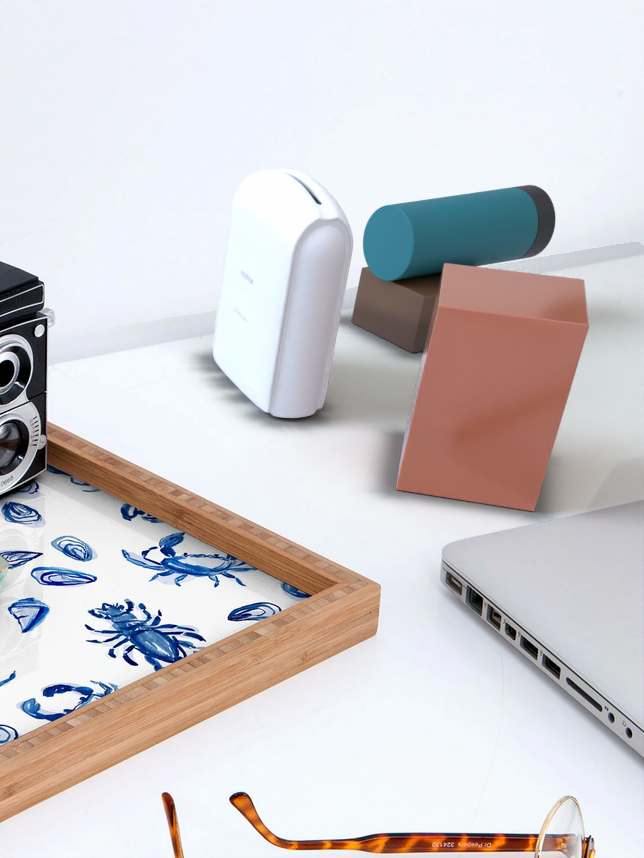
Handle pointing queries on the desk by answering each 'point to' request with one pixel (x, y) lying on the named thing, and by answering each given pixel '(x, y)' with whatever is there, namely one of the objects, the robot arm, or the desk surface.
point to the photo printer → (282, 291)
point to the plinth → (493, 385)
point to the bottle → (458, 231)
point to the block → (396, 308)
